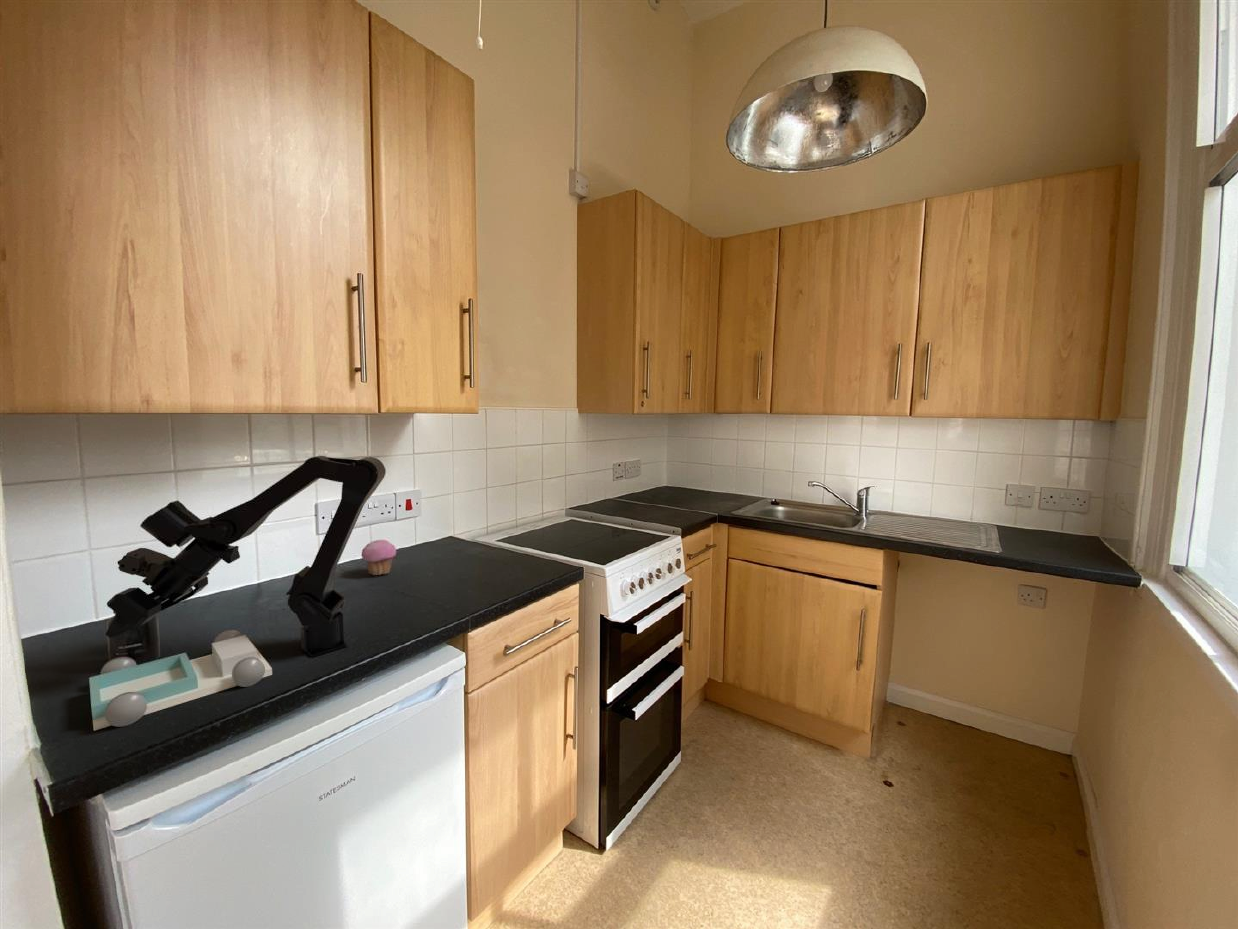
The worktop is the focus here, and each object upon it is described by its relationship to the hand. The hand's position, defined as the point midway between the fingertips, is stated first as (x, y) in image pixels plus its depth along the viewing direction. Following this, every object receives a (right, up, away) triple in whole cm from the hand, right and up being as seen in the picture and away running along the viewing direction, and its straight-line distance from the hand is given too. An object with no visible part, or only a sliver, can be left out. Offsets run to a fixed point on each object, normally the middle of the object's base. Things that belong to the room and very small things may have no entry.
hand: (127, 625), depth 93 cm
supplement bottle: (+1, -7, +1) cm, 8 cm away
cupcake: (+21, -2, +52) cm, 57 cm away
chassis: (+16, -8, -6) cm, 19 cm away
